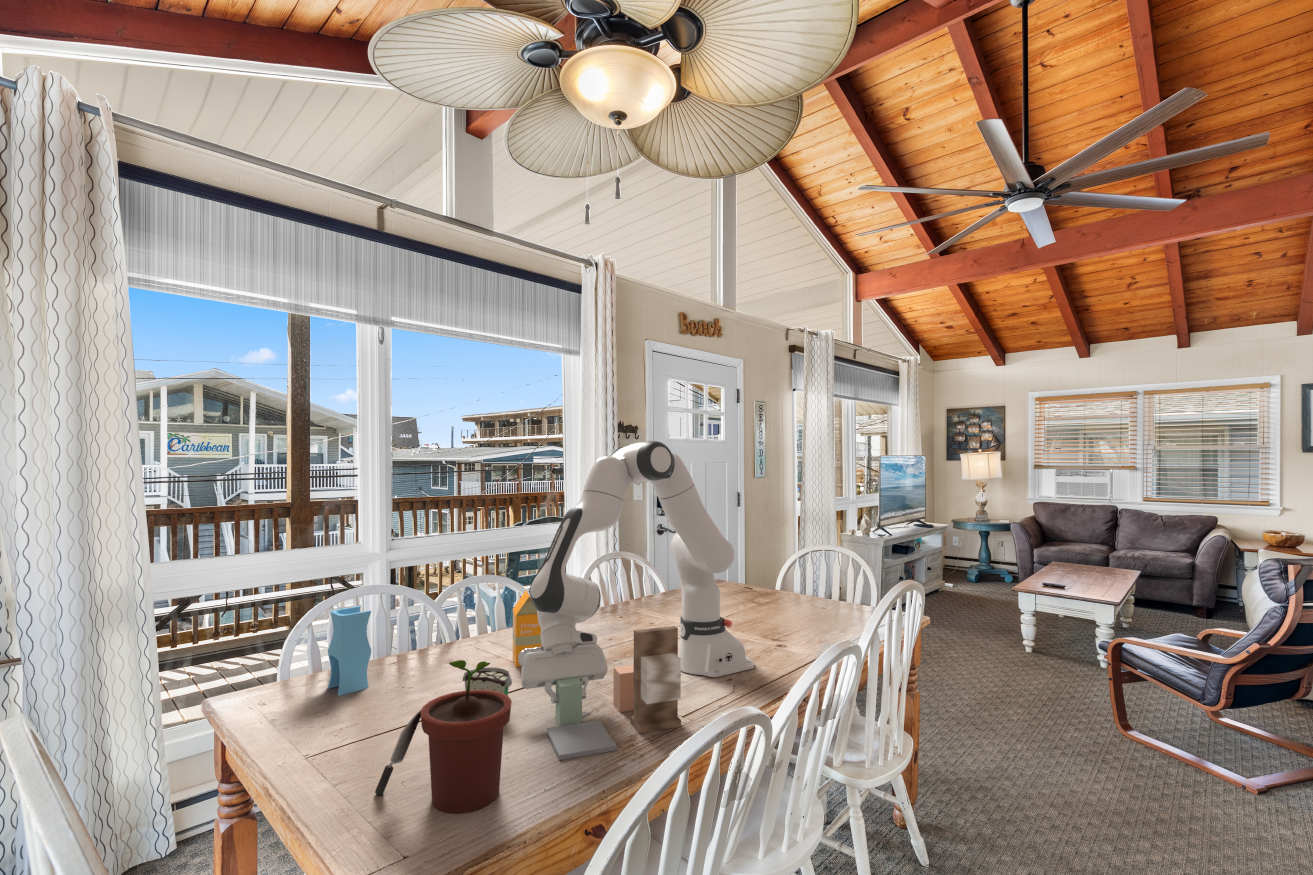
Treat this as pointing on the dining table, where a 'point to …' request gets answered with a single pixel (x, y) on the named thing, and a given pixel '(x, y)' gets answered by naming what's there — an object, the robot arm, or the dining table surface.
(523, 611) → the orange juice
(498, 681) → the food container
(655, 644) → the wall stand
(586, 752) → the grey board
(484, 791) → the potted plant
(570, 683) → the green block
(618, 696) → the terracotta block
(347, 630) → the vase
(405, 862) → the dining table surface
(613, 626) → the dining table surface
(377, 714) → the dining table surface
